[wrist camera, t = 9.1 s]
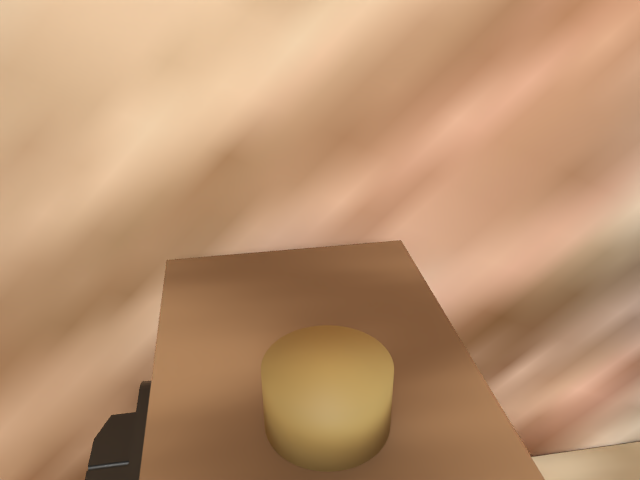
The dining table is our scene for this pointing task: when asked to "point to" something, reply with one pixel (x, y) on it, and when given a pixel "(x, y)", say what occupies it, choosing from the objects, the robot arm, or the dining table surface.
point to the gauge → (318, 374)
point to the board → (592, 463)
